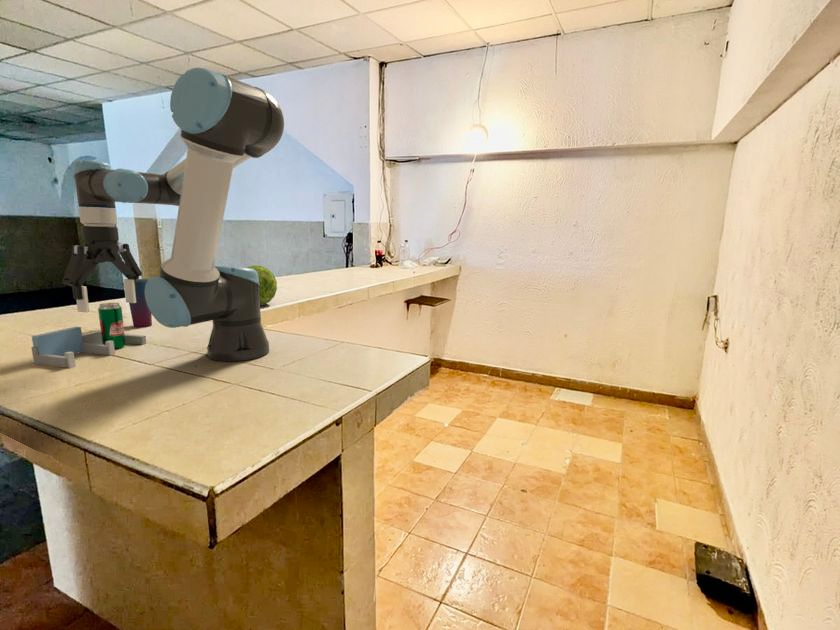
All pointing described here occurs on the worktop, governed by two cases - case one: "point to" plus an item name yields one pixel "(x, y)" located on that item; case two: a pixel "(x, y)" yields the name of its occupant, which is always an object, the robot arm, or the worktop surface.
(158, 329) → the worktop surface
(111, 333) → the soda can
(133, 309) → the cup
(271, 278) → the green watermelon
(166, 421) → the worktop surface
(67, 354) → the three-post can rack
